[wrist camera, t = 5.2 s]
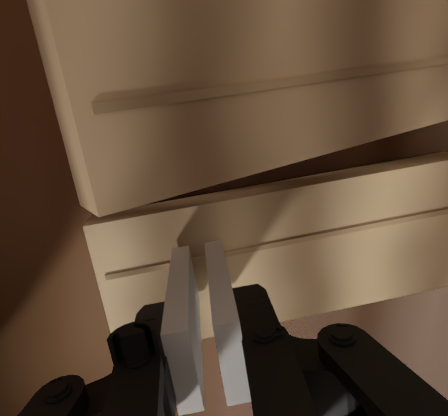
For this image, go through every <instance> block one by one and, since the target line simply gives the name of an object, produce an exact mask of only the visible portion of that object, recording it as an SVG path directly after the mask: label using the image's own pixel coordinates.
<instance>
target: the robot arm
mask: <svg viewBox="0 0 448 416" xmlns="http://www.w3.org/2000/svg"><path fill="white" fill-rule="evenodd" d="M204 244H205V254H206V264H207V275H208V285H209V295H210V306H211V316H212V326H213V331H214V337H215V342H216V348H217V353H218V358H219V364H220V369H221V374H222V380H223V385H224V391H225V396H226V401H227V406H232V405H237V404H242V403H247V402H252V409H253V415H254V416H448V400H447V399H446V398H444V397H443V396H442V395H441V394H440V393H438V392H437V391H436V390H435V389H434V388H432V387H431V386H430V385H429V384H428V383H426V382H425V381H424V380H423V379H422V378H420V377H419V376H418V375H417V374H416V373H414V372H413V371H412V370H411V369H410V368H408V367H407V366H406V365H405V364H404V363H402V362H401V361H400V360H399V359H398V358H396V357H395V356H394V355H393V354H392V353H390V352H389V351H388V350H387V349H386V348H384V347H383V346H382V345H381V344H380V343H378V342H377V341H376V340H375V339H374V338H372V337H371V336H370V335H369V334H368V333H366V332H365V331H364V330H362V329H361V328H359V327H357V326H354V325H350V324H343V323H342V324H341V323H337V324H332V325H328V326H326V327H324V328H322V329H321V331H320V332H319V333H318V337H317V339H303V338H297V337H293V336H291V335H289V334H288V332H287V330H286V329H285V328H284V327H283V326H281V325H280V323H279V320H278V318H277V315H276V313H275V310H274V308H273V305H272V304H271V301H270V298H269V296H268V293H267V291H266V289H265V288H263V287H262V286H260V285H259V284H253V285H247V286H241V287H236V288H232V285H231V280H230V276H229V272H228V267H227V263H226V258H225V254H224V250H223V245H222V241H221V240H218V241H212V242H206V243H204ZM107 342H108V346H109V350H110V353H111V357H112V361H113V364H114V366H113V370H112V373H111V374H109V375H108V376H106V377H104V378H102V379H99V380H97V381H94V382H92V383H89V384H87V385H85V383H84V380H83V378H81V377H80V376H77V375H67V376H62V377H59V378H57V379H54V380H52V381H50V382H49V383H47V384H46V385H44V386H42V387H41V388H40V389H39V390H38V391H37V392H36V393H35V394H34V396H33V397H32V398H31V400H30V401H29V402H28V403H27V405H26V406H25V407H24V409H23V410H22V411H21V412H20V414H19V415H18V416H175V410H176V406H177V410H178V415H179V416H180V415H185V414H190V413H196V412H201V411H204V392H203V369H202V346H201V323H200V300H199V295H198V290H197V285H196V279H195V274H194V269H193V264H192V259H191V253H190V248H189V246H183V247H178V248H172V252H171V259H170V267H169V274H168V282H167V289H166V296H165V301H164V302H159V303H153V304H148V305H144V306H143V307H142V308H141V309H140V310H139V311H138V313H137V314H136V317H135V321H134V322H131V323H128V324H124V325H123V326H121V327H119V328H117V329H116V330H114V331H113V332H112V333H111V334H110V335H109V337H108V338H107Z"/></svg>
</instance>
